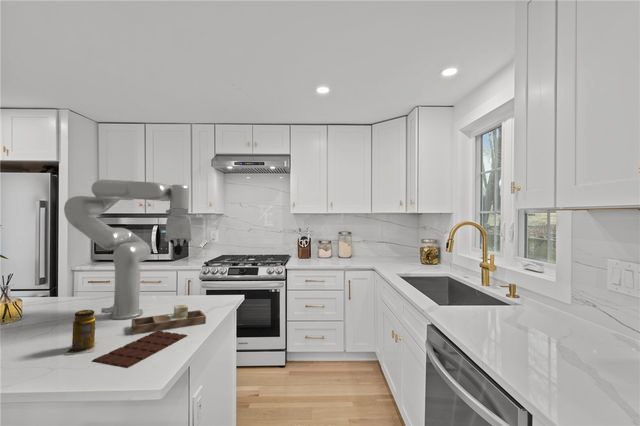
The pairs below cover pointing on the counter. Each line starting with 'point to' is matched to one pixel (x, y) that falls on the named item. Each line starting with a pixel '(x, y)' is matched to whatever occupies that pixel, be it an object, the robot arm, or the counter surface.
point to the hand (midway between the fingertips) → (177, 254)
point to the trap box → (166, 322)
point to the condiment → (83, 333)
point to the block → (180, 311)
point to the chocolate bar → (139, 349)
